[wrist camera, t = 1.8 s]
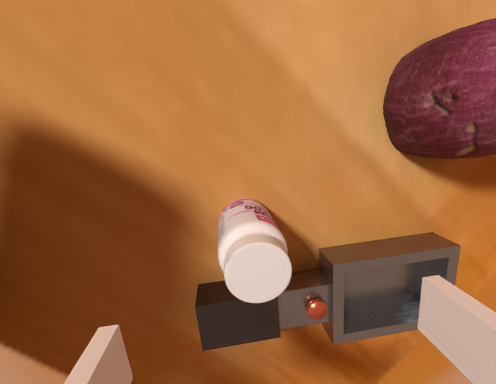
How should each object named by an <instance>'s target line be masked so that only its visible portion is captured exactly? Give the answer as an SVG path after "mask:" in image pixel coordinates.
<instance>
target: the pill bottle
mask: <svg viewBox="0 0 496 384" xmlns="http://www.w3.org/2000/svg"><path fill="white" fill-rule="evenodd" d="M218 259H219V264H220V266H221V269H222V270H223V272H224V278H225V282H226V285H227V287H228V289H229V290H230V292H231V293H232V294H233V295H234V296H235V297H237V298H238V299H240V300H242V301H245V302H249V303H263V302H267V301H270V300H272V299H274V298H276V297H277V296H279V295H280V294H281V293H282V292H283V291H284V290H285V289H286V287H287V286H288V284H289V282H290V279H291V275H292V266H291V262H290V259H289V257H288V249H287V243H286V241H285V238H284V236H283V234H282V233H281V231H280V230H279V228H278V226H277V225H276V223H275V222H274V220H273V218H272V217H271V215H270V213H269V211H268V210H267V209H266V207H265V206H264V205H263V204H262V203H260V202H258V201H256V200H254V199H249V198H242V199H238V200H235V201H233V202H231V203H230V204H228V205H227V206H226V207H225V208H224V210H223V211H222V213H221V215H220V218H219V223H218Z"/></svg>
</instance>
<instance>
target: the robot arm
mask: <svg viewBox="0 0 496 384" xmlns="http://www.w3.org/2000/svg"><path fill="white" fill-rule="evenodd" d="M418 329H419V330H420V331H421V332H422V333H423V334H424V335H425V336H426V337H427V338H428V339H429V340H430V341H431V342H432V343H433V344H434V345H435V346H436V347H437V348H438V349H439V350H440V351H441V352H442V353H443V354H444V355H445V356H446V357H447V358H448V359H449V360H450V361H451V362H452V363H453V364H454V365H455V366H456V367H457V368H458V369H459V370H460V371H461V372H462V373H463V374H464V375H465V376H466V377H467V378H468V379H469V380H470V381H471V382H472V383H473V384H496V313H495V312H494V311H492V310H491V309H489V308H488V307H486V306H485V305H483V304H481V303H480V302H479V301H477V300H476V299H474V298H473V297H471V296H470V295H468V294H466V293H465V292H463V291H462V290H460V289H459V288H457V287H456V286H454V285H453V284H451V283H450V282H448V281H447V280H445V279H444V278H442V277H441V276H439V275H435V276H429V277H423V278H422V288H421V298H420V308H419V318H418ZM132 379H133V375H132V371H131V368H130V364H129V360H128V357H127V353H126V349H125V346H124V342H123V338H122V335H121V331H120V327H119V324H118V325H111V326H105V327H99V328H98V330H97V331H96V333H95V334H94V336H93V338H92V339H91V341H90V342H89V344H88V346H87V347H86V349H85V350H84V352H83V354H82V355H81V357H80V358H79V360H78V362H77V363H76V365H75V366H74V368H73V370H72V371H71V373H70V374H69V376H68V378H67V379H66V381H65V382H64V384H131V382H132Z"/></svg>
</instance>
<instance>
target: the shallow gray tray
mask: <svg viewBox="0 0 496 384" xmlns="http://www.w3.org/2000/svg"><path fill="white" fill-rule="evenodd" d="M459 253H460V245H458V244H456V243H454V242H452V241H450V240H447V239H445V238H443V237H441V236H439V235H437V234H435V233H433V232H431V233H424V234H417V235H410V236H403V237H397V238H390V239H383V240H376V241H369V242H362V243H355V244H348V245H341V246H334V247H327V248H320V249H319V265H320V269H316V270H310V271H303V272H297V273H292V275H291V279H290V282H289V284H288V286H287V287H286V289H285V290H284V291H283V292H282V293H281V294H280V295H279V296H277V297H276V298H274V299H272V300H270V301H267V302H263V303H249V302H245V301H242V300H240V299H238V298H237V297H235V296H234V295H233V294H232V293H231V292H230V290H229V289H228V287H227V285H226V282H225V281H219V282H213V283H206V284H200V285H198V289H197V297H196V305H195V308H196V314H197V320H198V326H199V331H200V337H201V343H202V349H203V351H205V350H210V349H216V348H222V347H227V346H233V345H239V344H244V343H250V342H256V341H261V340H267V339H273V338H278V337H281V336H280V330H282V329H288V328H294V327H300V326H305V325H311V324H317V323H322V325H323V326H324V328H325V330H326V332H327V334H328V336H329V338H330V339H331V341H332V343H333V345H335V344H340V343H346V342H351V341H357V340H362V339H368V338H373V337H378V336H384V335H389V334H395V333H400V332H406V331H411V330H417V329H418V318H419V308H420V298H421V288H422V278H423V277H429V276H435V275H439V276H441V277H442V278H444V279H445V280H447V281H448V282H450V283H451V284H453V285H454V286H455V281H456V274H457V267H458V260H459Z"/></svg>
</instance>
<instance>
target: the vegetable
mask: <svg viewBox="0 0 496 384" xmlns="http://www.w3.org/2000/svg"><path fill="white" fill-rule="evenodd" d="M383 109H384V112H383V113H384V118H385V122H386V127H387V130H388V131H387V132H388V134H389V137H390V140H391V142H392V144H393V145H394V146H395V147H396V149H398V150H399V151H402V152H405V153H409V154H412V155H417V156H420V157H430V158H443V159H456V158H473V157H481V156H487V155H492V154H496V18H494V19H490V20H486V21H482V22H479V23H476V24H473V25H470V26H467V27H463V28H459V29H456V30H454V31H452V32H450V33H447V34H445V35H442V36H440V37H437V38H435V39H432V40H430V41H428V42H426V43H424V44H422V45H420V46H419V47H417V48H416V49H414V50H413V51H411V52H410V53H408V54H407V55H405V56H404V57H403V58H402V59H401V60H400V62H399V63H398V64H397V65H396V67H395V69H394V71H393V73H392V75H391V77H390V80H389V84H388V87H387V90H386V94H385V98H384V105H383Z"/></svg>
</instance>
